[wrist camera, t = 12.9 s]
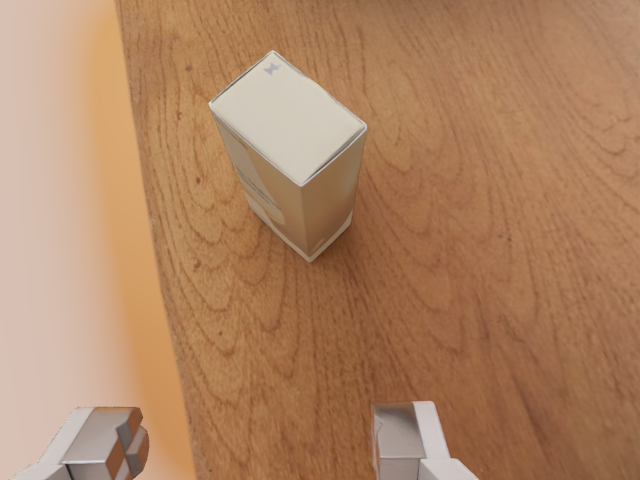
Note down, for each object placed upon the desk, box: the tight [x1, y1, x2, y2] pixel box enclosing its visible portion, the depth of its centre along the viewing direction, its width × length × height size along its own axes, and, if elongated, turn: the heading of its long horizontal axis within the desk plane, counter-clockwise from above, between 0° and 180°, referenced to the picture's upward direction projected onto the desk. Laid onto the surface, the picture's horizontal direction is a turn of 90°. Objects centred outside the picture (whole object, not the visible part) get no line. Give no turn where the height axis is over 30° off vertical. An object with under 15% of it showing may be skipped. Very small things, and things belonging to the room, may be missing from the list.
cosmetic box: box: [208, 51, 367, 263], centre depth 25 cm, size 6×4×12 cm
